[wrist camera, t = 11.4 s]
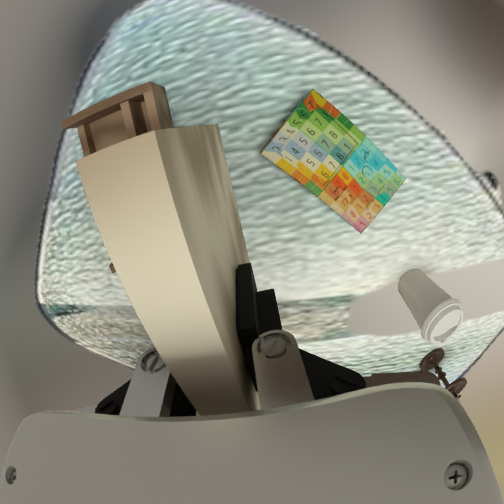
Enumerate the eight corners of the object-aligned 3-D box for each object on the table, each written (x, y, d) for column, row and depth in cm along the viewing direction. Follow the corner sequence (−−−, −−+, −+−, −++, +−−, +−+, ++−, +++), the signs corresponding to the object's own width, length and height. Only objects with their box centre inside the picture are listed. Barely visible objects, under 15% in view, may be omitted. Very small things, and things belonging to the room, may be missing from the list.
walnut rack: (202, 234, 44) (196, 255, 38) (126, 252, 44) (112, 272, 38) (164, 87, 33) (150, 81, 27) (84, 119, 34) (61, 121, 27)
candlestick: (411, 374, 68) (454, 464, 36) (424, 350, 63) (477, 446, 32) (437, 366, 68) (481, 448, 37) (450, 342, 63) (503, 428, 32)
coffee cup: (385, 300, 52) (417, 349, 39) (401, 260, 48) (443, 305, 35) (417, 301, 54) (450, 345, 40) (433, 264, 49) (474, 305, 36)
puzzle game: (363, 236, 41) (261, 154, 34) (352, 224, 45) (258, 150, 39) (408, 180, 37) (314, 88, 30) (394, 173, 41) (306, 91, 35)
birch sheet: (259, 302, 22) (279, 470, 10) (241, 306, 22) (248, 474, 10) (217, 124, 16) (154, 130, 4) (195, 130, 16) (76, 161, 4)
